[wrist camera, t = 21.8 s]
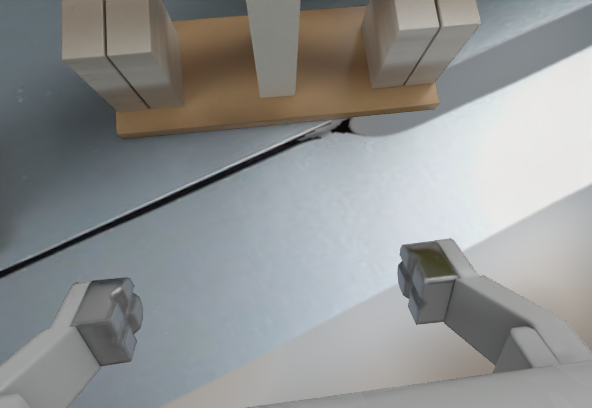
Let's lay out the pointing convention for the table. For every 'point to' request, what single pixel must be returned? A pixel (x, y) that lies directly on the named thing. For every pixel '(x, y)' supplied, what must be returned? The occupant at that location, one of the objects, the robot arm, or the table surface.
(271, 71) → the tall white book
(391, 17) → the white book rack
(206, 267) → the table surface
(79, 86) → the table surface
